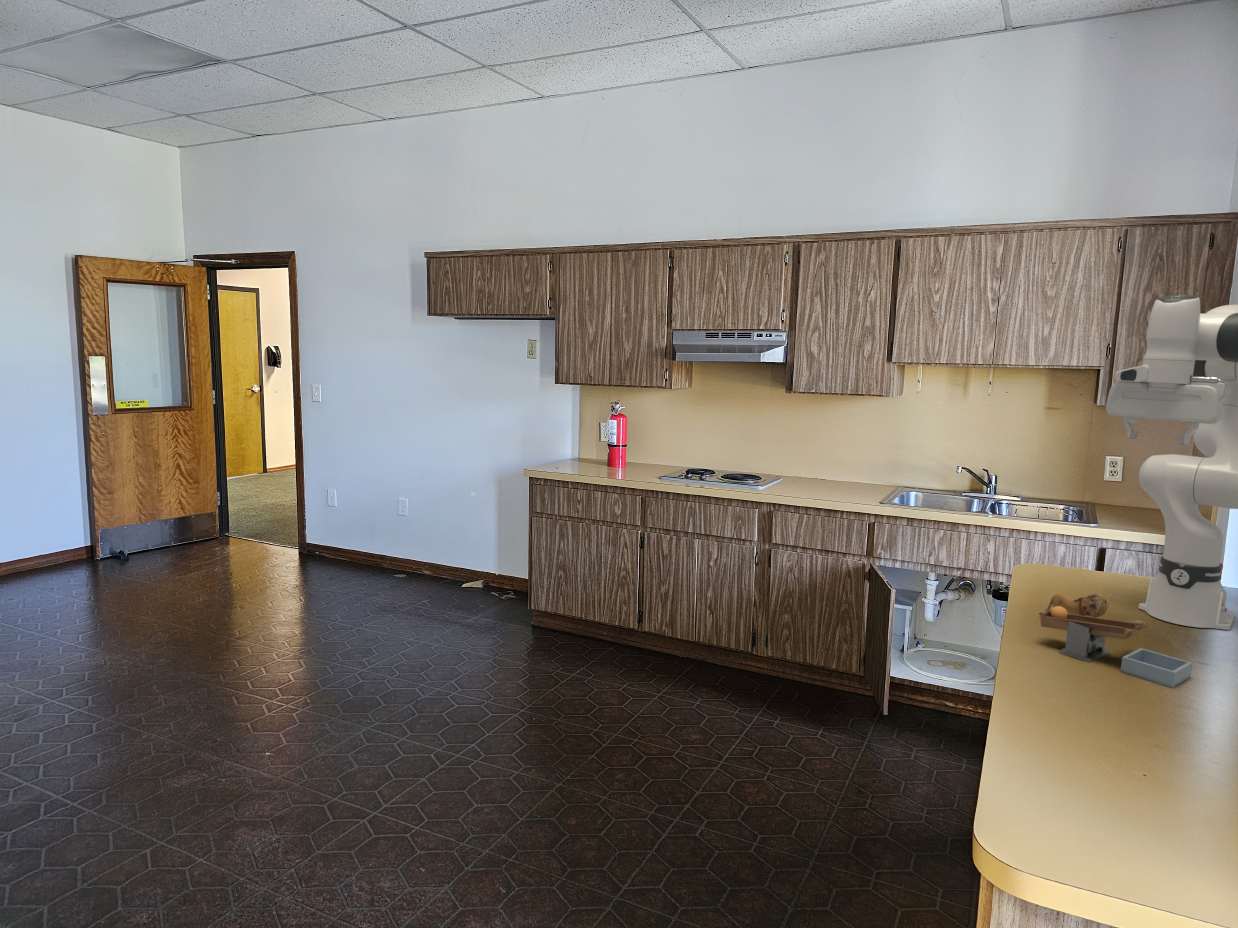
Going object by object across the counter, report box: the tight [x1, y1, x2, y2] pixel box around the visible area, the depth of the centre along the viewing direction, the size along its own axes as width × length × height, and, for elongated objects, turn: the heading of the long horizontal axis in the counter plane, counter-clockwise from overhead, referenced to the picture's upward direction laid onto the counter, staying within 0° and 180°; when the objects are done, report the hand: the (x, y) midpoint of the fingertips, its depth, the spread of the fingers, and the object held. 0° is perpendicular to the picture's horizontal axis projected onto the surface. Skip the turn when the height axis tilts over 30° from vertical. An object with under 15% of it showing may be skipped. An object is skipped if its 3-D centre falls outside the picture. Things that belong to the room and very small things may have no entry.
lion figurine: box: [1038, 593, 1109, 618], centre depth 184 cm, size 15×5×9 cm, turn 34°
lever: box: [1040, 608, 1148, 640], centre depth 169 cm, size 13×16×3 cm
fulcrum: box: [1058, 615, 1110, 663], centre depth 167 cm, size 9×6×7 cm, turn 127°
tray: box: [1119, 647, 1193, 689], centre depth 157 cm, size 9×9×3 cm
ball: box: [1050, 606, 1068, 619], centre depth 171 cm, size 3×3×3 cm
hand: (1157, 441), depth 167 cm, fingers open, 8 cm apart
